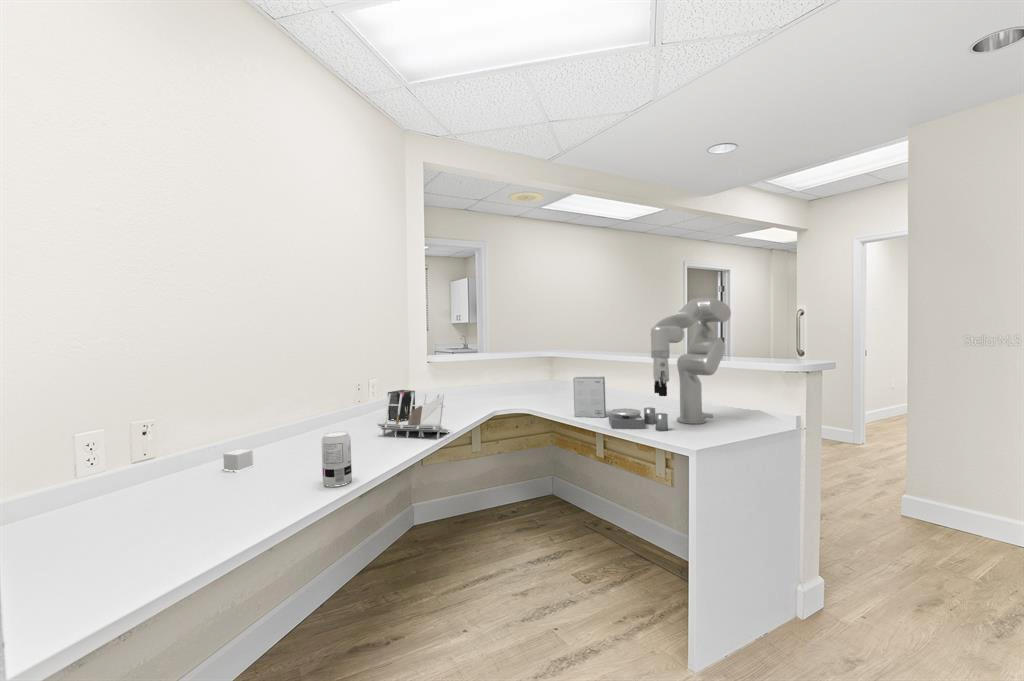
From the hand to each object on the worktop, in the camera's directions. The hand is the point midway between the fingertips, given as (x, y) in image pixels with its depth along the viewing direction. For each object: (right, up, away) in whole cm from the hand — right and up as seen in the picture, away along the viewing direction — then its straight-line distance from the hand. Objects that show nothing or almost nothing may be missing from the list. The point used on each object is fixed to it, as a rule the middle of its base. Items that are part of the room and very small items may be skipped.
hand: (660, 394), depth 196 cm
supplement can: (-117, -20, -59) cm, 133 cm away
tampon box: (-121, -18, +40) cm, 129 cm away
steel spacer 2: (+1, -16, +1) cm, 16 cm away
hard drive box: (-24, -16, +36) cm, 46 cm away
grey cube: (-157, -21, -42) cm, 164 cm away
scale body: (-12, -16, +11) cm, 23 cm away
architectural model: (-107, -19, +3) cm, 109 cm away
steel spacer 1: (0, -15, +15) cm, 21 cm away
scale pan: (-12, -12, +11) cm, 20 cm away
